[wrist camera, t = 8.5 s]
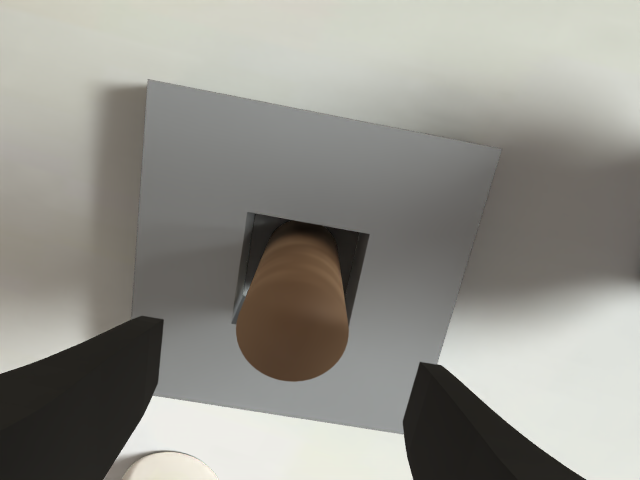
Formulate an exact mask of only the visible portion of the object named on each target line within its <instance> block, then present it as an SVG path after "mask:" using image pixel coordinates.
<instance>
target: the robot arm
mask: <svg viewBox="0 0 640 480" xmlns="http://www.w3.org/2000/svg"><path fill="white" fill-rule="evenodd" d="M163 325H164V319H159V318H153V317H147V316H139V317H137V318H134V319H132V320H130V321H128V322H125V323H123V324H121V325H119V326H117V327H115V328H113V329H111V330H109V331H106V332H104V333H102V334H100V335H98V336H96V337H94V338H91V339H89V340H87V341H85V342H83V343H81V344H78V345H76V346H73V347H71V348H69V349H66V350H64V351H61V352H59V353H57V354H54V355H52V356H49V357H47V358H45V359H42V360H39V361H37V362H34V363H31V364H29V365H26V366H23V367H20V368H17V369H14V370H11V371H8V372H5V373H2V374H0V480H103V479H104V477H105V476H106V474H107V472H108V471H109V469H110V468H111V466H112V464H113V463H114V461H115V460H116V458H117V457H118V455H119V453H120V452H121V450H122V449H123V447H124V446H125V444H126V442H127V441H128V439H129V438H130V436H131V434H132V433H133V431H134V430H135V428H136V426H137V425H138V423H139V422H140V420H141V418H142V417H143V415H144V413H145V411H146V409H147V406H148V404H149V402H150V400H151V398H152V396H153V393H154V391H155V389H156V387H157V385H158V379H159V368H160V357H161V346H162V335H163ZM403 430H404V438H405V445H406V452H407V458H408V461H409V465H410V469H411V473H412V476H413V480H586V479H584V478H583V477H581V476H579V475H578V474H576V473H575V472H573V471H572V470H570V469H569V468H567V467H566V466H564V465H563V464H561V463H560V462H559V461H557V460H556V459H554V458H553V457H551V456H550V455H549V454H547V453H546V452H544V451H543V450H541V449H540V448H539V447H537V446H536V445H535V444H533V443H532V442H531V441H529V440H528V439H527V438H526V437H524V436H523V435H522V434H521V433H519V432H518V431H517V430H516V429H514V428H513V427H512V426H511V425H509V424H508V423H507V422H506V421H505V420H503V419H502V418H501V417H500V416H499V415H498V414H496V413H495V412H494V411H493V410H492V409H491V408H489V407H488V406H487V405H486V404H485V403H484V402H483V401H482V400H480V399H479V398H478V397H477V396H476V395H475V394H474V393H473V392H472V391H470V390H469V389H468V388H467V387H466V386H465V385H464V384H463V383H462V382H461V381H459V380H458V379H457V378H456V377H455V376H454V375H453V374H451V373H450V372H449V371H448V370H447V369H445V368H444V367H443V366H441V365H437V364H431V363H425V362H420V363H419V366H418V370H417V373H416V377H415V380H414V384H413V387H412V390H411V394H410V397H409V401H408V404H407V408H406V411H405V415H404V418H403Z"/></svg>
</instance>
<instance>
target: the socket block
mask: <svg viewBox="0 0 640 480" xmlns="http://www.w3.org/2000/svg"><path fill="white" fill-rule="evenodd" d="M501 151H502V149H501V148H496V147H491V146H485V145H480V144H475V143H470V142H465V141H460V140H455V139H450V138H445V137H440V136H435V135H429V134H424V133H419V132H414V131H409V130H404V129H399V128H394V127H389V126H384V125H379V124H373V123H368V122H363V121H358V120H353V119H348V118H343V117H338V116H333V115H328V114H323V113H317V112H312V111H307V110H302V109H297V108H292V107H287V106H282V105H277V104H272V103H267V102H261V101H256V100H251V99H246V98H241V97H236V96H231V95H226V94H221V93H216V92H211V91H206V90H200V89H195V88H190V87H185V86H180V85H175V84H170V83H165V82H160V81H155V80H150V79H148V84H147V98H146V113H145V127H144V142H143V156H142V171H141V185H140V200H139V214H138V229H137V243H136V258H135V272H134V287H133V301H132V316H131V320H132V319H134V318H137V317H139V316H147V317H153V318H159V319H164V325H163V335H162V346H161V357H160V368H159V379H158V385H157V387H156V389H155V391H154V393H153V396H159V397H166V398H172V399H179V400H185V401H192V402H198V403H204V404H211V405H217V406H224V407H230V408H237V409H243V410H250V411H256V412H262V413H269V414H275V415H282V416H288V417H295V418H301V419H308V420H314V421H320V422H327V423H333V424H340V425H346V426H353V427H359V428H366V429H372V430H378V431H385V432H391V433H398V434H404V430H403V418H404V415H405V411H406V408H407V404H408V401H409V397H410V394H411V390H412V387H413V384H414V380H415V377H416V373H417V370H418V366H419V363H420V362H425V363H431V364H437V362H438V359H439V356H440V352H441V349H442V346H443V343H444V339H445V336H446V333H447V329H448V326H449V323H450V319H451V316H452V313H453V310H454V306H455V303H456V300H457V296H458V293H459V290H460V286H461V283H462V280H463V276H464V273H465V270H466V267H467V263H468V260H469V257H470V253H471V250H472V247H473V243H474V240H475V237H476V234H477V230H478V227H479V224H480V220H481V217H482V214H483V210H484V207H485V204H486V201H487V197H488V194H489V191H490V187H491V184H492V181H493V177H494V174H495V171H496V167H497V164H498V161H499V158H500V154H501ZM255 213H256V214H262V215H267V216H273V217H278V218H284V219H289V220H295V221H300V222H306V223H312V224H317V225H323V226H328V227H334V228H339V229H345V230H350V231H356V232H359V237H358V241H357V246H356V250H355V255H354V259H353V264H352V268H351V273H350V277H349V282H348V286H347V291H346V295H345V305H346V312H347V319H348V327H349V338H348V342H347V346H346V349H345V351H344V353H343V355H342V357H341V358H340V359H339V361H338V362H337V363H336V364H335V365H334V366H333V367H332V368H331V369H330V370H328V371H327V372H325V373H324V374H322V375H320V376H318V377H316V378H313V379H310V380H305V381H297V382H289V381H281V380H277V379H274V378H271V377H268V376H266V375H264V374H262V373H261V372H259V371H258V370H256V369H255V368H254V367H253V366H252V365H251V364H250V363H249V362H248V361H247V360H246V359H245V357H244V356H243V354H242V352H241V350H240V348H239V345H238V342H237V337H236V323H237V319H238V315H239V312H240V310H241V307H242V305H243V302H244V300H245V298H246V297H244V296H243V291H244V285H245V278H246V271H247V264H248V258H249V251H250V244H251V237H252V231H253V224H254V217H255Z"/></svg>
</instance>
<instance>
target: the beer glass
mask: <svg viewBox="0 0 640 480" xmlns="http://www.w3.org/2000/svg"><path fill="white" fill-rule="evenodd" d="M122 480H219V479H218V477H217V475H216V474H215V473H214V472H213V471H212V469H211V468H209V467H208V466H207V465H206V464H205V463H203V462H202V461H200V460H198V459H196V458H194V457H192V456H189V455H186V454H182V453H177V452H159V453H154V454H150V455H147V456H145V457H143V458H141V459H139V460H137V461H136V462H135V463H133V464H132V465H131V466H130V468H129V469H128V470H127V471H126V473H125V474H124V476H123V478H122Z"/></svg>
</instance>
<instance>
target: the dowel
mask: <svg viewBox="0 0 640 480" xmlns="http://www.w3.org/2000/svg"><path fill="white" fill-rule="evenodd" d="M236 337H237V342H238V345H239V348H240V350H241V352H242V354H243V356H244V357H245V359H246V360H247V361H248V362H249V363H250V364H251V365H252V366H253V367H254V368H255V369H256V370H258V371H259V372H261V373H262V374H264V375H266V376H268V377H271V378H274V379H277V380H281V381H289V382H297V381H305V380H310V379H313V378H316V377H318V376H320V375H322V374H324V373H325V372H327V371H328V370H330V369H331V368H332V367H333V366H334V365H335V364H336V363H337V362H338V361H339V359H340V358H341V357H342V355H343V353H344V351H345V349H346V346H347V342H348V338H349V327H348V319H347V312H346V305H345V298H344V291H343V284H342V278H341V271H340V264H339V257H338V250H337V245H336V242H335V240H334V238H333V236H332V235H331V233H330V232H329V231H328V230H327V229H326V228H325V227H324V226H322V225H317V224H312V223H306V222H300V221H295V220H292V221H289V222H286V223H284V224H282V225H281V226H280V227H278V228H277V229H276V230H275V231H274V232H273V233H272V235H271V237H270V238H269V241H268V243H267V245H266V248H265V250H264V253H263V255H262V258H261V260H260V263H259V265H258V268H257V270H256V273H255V275H254V278H253V280H252V283H251V285H250V288H249V290H248V293H247V295H246V298H245V300H244V302H243V305H242V307H241V310H240V312H239V315H238V319H237V323H236Z"/></svg>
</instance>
